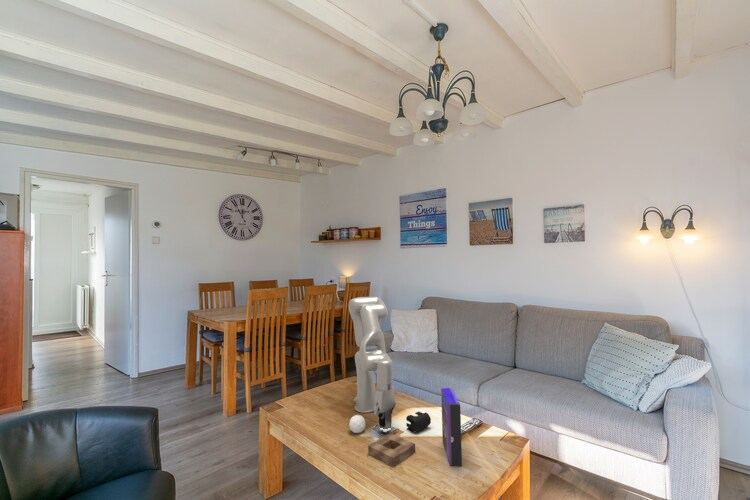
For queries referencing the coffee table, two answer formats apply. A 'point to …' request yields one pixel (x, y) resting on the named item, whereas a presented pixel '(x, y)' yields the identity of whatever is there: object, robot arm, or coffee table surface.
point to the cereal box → (451, 427)
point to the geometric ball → (357, 424)
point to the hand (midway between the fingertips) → (385, 423)
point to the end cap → (418, 421)
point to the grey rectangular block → (387, 419)
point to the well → (391, 457)
